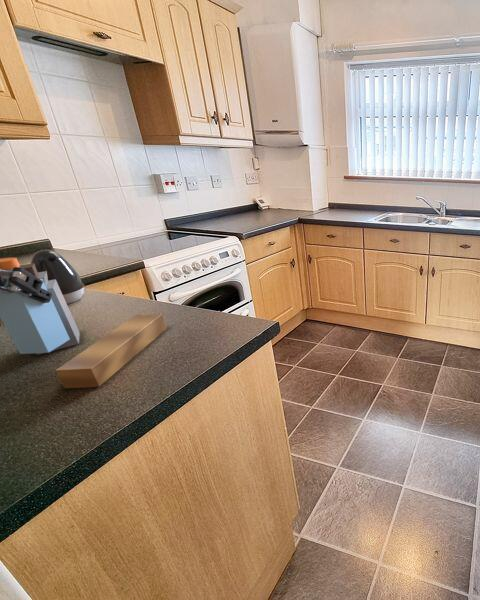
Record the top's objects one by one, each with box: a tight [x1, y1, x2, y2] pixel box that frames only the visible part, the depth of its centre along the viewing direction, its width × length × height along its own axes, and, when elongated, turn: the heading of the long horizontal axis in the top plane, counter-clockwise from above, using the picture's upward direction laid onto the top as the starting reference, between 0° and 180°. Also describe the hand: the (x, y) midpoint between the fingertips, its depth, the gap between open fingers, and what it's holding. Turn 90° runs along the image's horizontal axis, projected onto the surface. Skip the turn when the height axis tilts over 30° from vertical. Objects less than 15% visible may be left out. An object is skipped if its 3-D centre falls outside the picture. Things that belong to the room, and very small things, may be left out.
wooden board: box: [55, 313, 168, 389], centre depth 70 cm, size 22×6×4 cm, turn 4°
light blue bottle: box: [0, 257, 70, 355], centre depth 62 cm, size 18×5×5 cm
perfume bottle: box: [19, 263, 81, 356], centre depth 72 cm, size 7×7×18 cm
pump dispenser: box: [30, 249, 85, 305], centre depth 93 cm, size 10×10×15 cm
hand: (33, 298), depth 63 cm, fingers closed on light blue bottle, 5 cm apart
